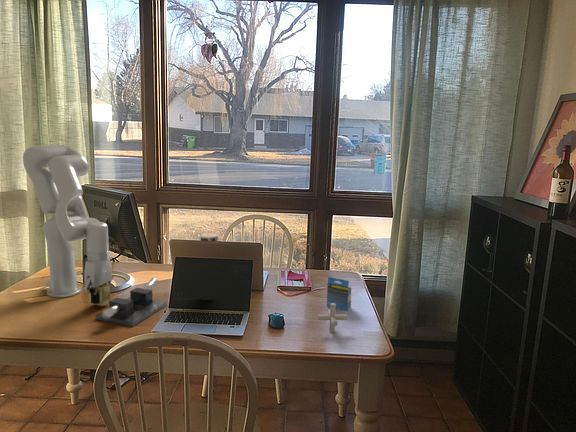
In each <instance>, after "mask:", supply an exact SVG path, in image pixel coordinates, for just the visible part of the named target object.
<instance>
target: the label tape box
mask: <svg viewBox="0 0 576 432" xmlns="http://www.w3.org/2000/svg"><path fill="white" fill-rule="evenodd" d="M338 282H339V283H338ZM349 282H350V281H349V280H346V279H341V278H336V277H332V276H328V277H327V283H326V284H327V290H326V292H327V294H326V295H327V296H326V307H329V308H330V304H331V303H335V304H336V309H339V310H343V311H349V310H350V309H351V307H352V306H351V305H352V287H350V286H349Z"/></svg>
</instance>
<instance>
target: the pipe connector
mask: <svg viewBox="0 0 576 432" xmlns="http://www.w3.org/2000/svg"><path fill="white" fill-rule="evenodd" d="M336 309H337V308H336V304H335V303H331V304H330V307H329V309H328V310H327V314H318V315H317V321H329V328H328V329H329V330H328V331H329V333H335V331H336V329H335V328H336V327H338V321H348V314H336Z"/></svg>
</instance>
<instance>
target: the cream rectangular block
mask: <svg viewBox="0 0 576 432" xmlns="http://www.w3.org/2000/svg"><path fill="white" fill-rule="evenodd" d="M93 290H94V288H93ZM97 294H98V296H99V304H93V303H91V294H90V293H89V292H88V302H89V304H90V305H96V306H100V307H104V306H105V305H107V304H109V302H110V301H111V284H110V285H109V284H102V285H100V286H98V291H97Z"/></svg>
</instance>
